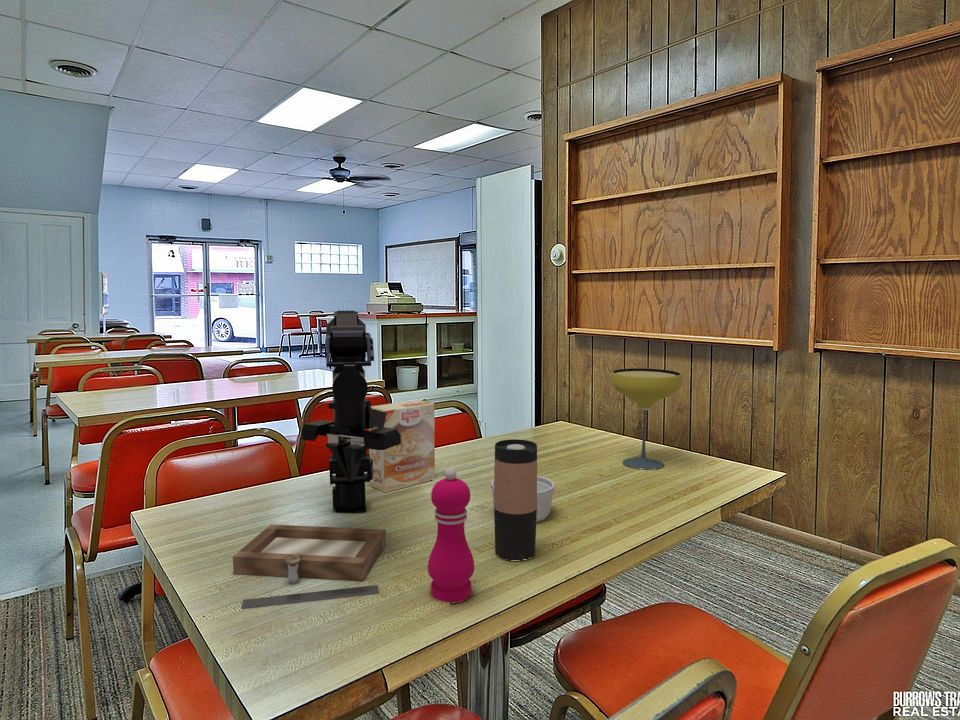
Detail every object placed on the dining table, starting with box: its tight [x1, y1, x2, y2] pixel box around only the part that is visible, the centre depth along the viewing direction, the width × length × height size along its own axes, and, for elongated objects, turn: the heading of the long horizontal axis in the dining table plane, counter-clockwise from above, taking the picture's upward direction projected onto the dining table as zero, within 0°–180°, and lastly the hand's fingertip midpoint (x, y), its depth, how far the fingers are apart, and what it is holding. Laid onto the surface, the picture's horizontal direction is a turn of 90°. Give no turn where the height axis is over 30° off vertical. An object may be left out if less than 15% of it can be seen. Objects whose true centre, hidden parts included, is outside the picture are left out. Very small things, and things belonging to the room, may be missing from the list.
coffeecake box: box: [368, 399, 436, 493], centre depth 150 cm, size 15×7×20 cm, turn 131°
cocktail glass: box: [610, 367, 683, 469], centre depth 166 cm, size 18×18×25 cm
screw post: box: [287, 563, 300, 585], centre depth 99 cm, size 2×2×4 cm
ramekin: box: [490, 475, 555, 523], centre depth 130 cm, size 13×13×7 cm
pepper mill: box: [427, 468, 475, 603], centre depth 95 cm, size 7×7×20 cm
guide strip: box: [240, 584, 380, 610], centre depth 94 cm, size 20×2×1 cm, turn 104°
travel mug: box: [493, 438, 538, 561], centre depth 110 cm, size 8×8×20 cm
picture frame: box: [232, 523, 387, 582], centre depth 106 cm, size 22×17×4 cm
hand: (351, 480), depth 113 cm, fingers closed
